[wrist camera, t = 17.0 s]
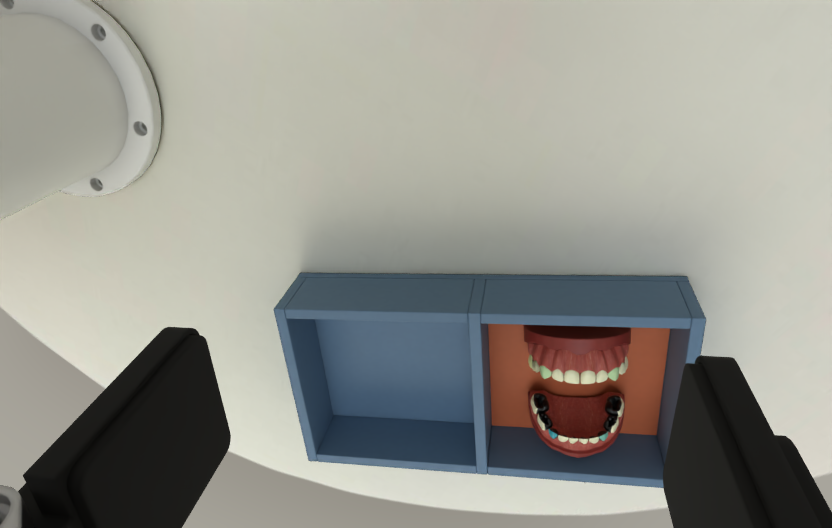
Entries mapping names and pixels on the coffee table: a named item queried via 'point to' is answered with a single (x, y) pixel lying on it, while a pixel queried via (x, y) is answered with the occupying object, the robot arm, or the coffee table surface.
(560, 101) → the coffee table surface
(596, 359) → the dentures
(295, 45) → the coffee table surface
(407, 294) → the storage tray
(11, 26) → the robot arm
